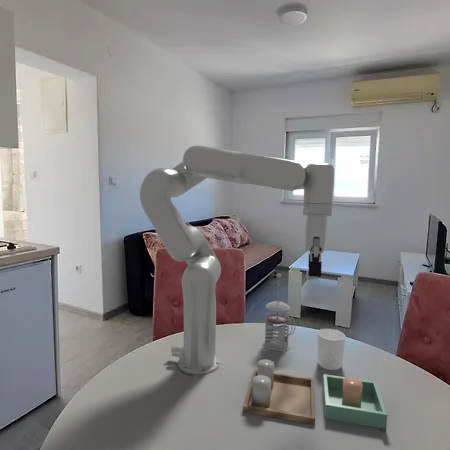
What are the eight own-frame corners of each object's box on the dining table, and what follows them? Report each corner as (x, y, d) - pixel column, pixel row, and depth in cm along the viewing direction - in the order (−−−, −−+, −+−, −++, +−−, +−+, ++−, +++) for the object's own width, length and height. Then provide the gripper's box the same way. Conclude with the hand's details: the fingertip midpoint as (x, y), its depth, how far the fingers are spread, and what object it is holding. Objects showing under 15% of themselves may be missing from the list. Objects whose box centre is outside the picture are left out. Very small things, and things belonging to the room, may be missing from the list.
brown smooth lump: (342, 409, 80) (344, 386, 80) (341, 398, 85) (342, 376, 84) (362, 412, 79) (364, 389, 79) (359, 401, 84) (361, 378, 83)
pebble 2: (250, 407, 80) (251, 383, 80) (253, 396, 85) (254, 374, 84) (269, 410, 79) (269, 386, 79) (271, 399, 84) (271, 376, 83)
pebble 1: (255, 388, 88) (256, 366, 88) (258, 378, 92) (258, 358, 92) (272, 390, 87) (273, 369, 86) (274, 381, 91) (275, 360, 91)
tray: (242, 413, 79) (243, 406, 79) (253, 376, 95) (254, 369, 95) (314, 427, 75) (315, 418, 75) (313, 385, 91) (314, 378, 91)
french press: (274, 336, 120) (276, 268, 117) (301, 348, 112) (304, 275, 109) (255, 344, 114) (257, 273, 111) (283, 358, 105) (286, 280, 102)
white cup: (345, 374, 97) (347, 341, 95) (316, 371, 98) (318, 338, 97) (341, 360, 104) (343, 330, 103) (315, 357, 106) (316, 327, 105)
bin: (324, 420, 77) (325, 404, 77) (322, 388, 90) (323, 374, 89) (386, 431, 74) (387, 414, 74) (374, 396, 87) (375, 381, 86)
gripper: (303, 207, 100) (301, 263, 102) (302, 211, 83) (299, 278, 85) (329, 208, 98) (326, 265, 100) (334, 212, 81) (330, 281, 83)
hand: (314, 271), depth 92 cm, fingers open, 9 cm apart
